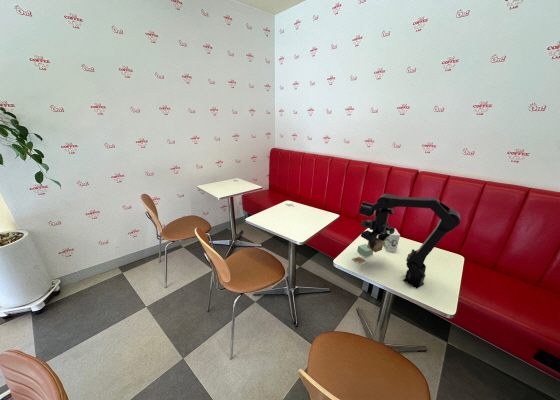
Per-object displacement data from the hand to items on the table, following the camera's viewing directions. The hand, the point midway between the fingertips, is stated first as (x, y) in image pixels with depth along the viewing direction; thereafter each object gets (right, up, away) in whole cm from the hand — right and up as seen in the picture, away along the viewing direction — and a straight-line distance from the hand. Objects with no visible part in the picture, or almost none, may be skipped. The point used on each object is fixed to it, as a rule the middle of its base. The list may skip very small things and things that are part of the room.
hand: (374, 246), depth 110 cm
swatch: (-5, -9, +8) cm, 13 cm away
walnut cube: (0, -1, 0) cm, 1 cm away
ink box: (+17, -5, +20) cm, 27 cm away
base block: (+1, -7, +15) cm, 16 cm away
